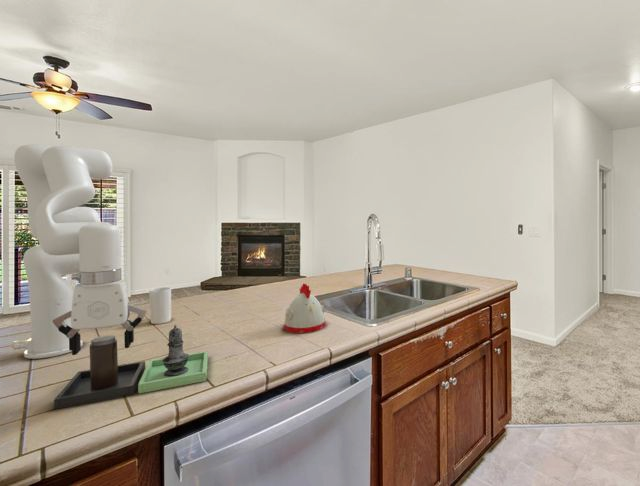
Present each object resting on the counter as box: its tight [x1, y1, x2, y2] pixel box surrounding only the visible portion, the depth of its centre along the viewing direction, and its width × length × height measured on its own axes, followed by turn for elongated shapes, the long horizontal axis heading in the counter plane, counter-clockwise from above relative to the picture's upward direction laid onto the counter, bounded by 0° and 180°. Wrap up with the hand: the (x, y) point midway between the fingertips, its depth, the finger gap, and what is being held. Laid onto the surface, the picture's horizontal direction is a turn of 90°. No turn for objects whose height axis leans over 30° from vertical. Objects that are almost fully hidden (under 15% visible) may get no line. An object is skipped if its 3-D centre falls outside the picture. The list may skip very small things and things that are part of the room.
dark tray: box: [53, 360, 146, 410], centre depth 86 cm, size 14×15×2 cm
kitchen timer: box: [284, 283, 326, 334], centre depth 129 cm, size 14×14×15 cm
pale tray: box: [137, 350, 209, 394], centre depth 92 cm, size 14×15×2 cm
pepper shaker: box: [89, 334, 119, 390], centre depth 86 cm, size 5×5×11 cm
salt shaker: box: [162, 324, 190, 377], centre depth 92 cm, size 6×6×12 cm
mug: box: [148, 286, 172, 325], centre depth 136 cm, size 10×7×12 cm, turn 38°
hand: (102, 349), depth 86 cm, fingers open, 9 cm apart
